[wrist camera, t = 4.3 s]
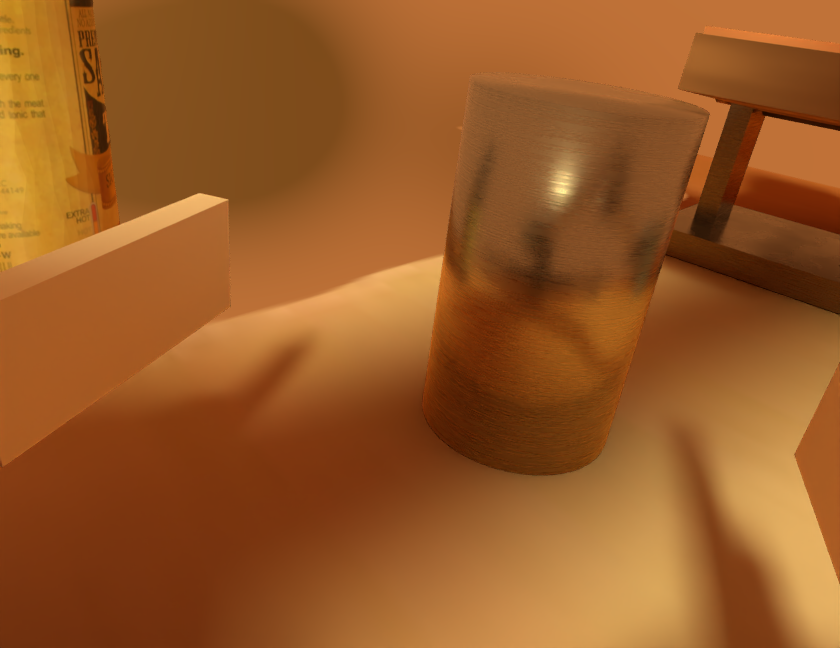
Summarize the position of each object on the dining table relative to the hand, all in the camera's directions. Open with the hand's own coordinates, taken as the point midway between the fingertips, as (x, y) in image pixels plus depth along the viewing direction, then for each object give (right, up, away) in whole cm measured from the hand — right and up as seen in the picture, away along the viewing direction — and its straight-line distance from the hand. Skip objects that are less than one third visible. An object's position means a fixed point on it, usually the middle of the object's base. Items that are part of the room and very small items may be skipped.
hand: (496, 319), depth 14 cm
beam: (+21, +10, +20) cm, 31 cm away
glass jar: (+1, -3, +7) cm, 8 cm away
